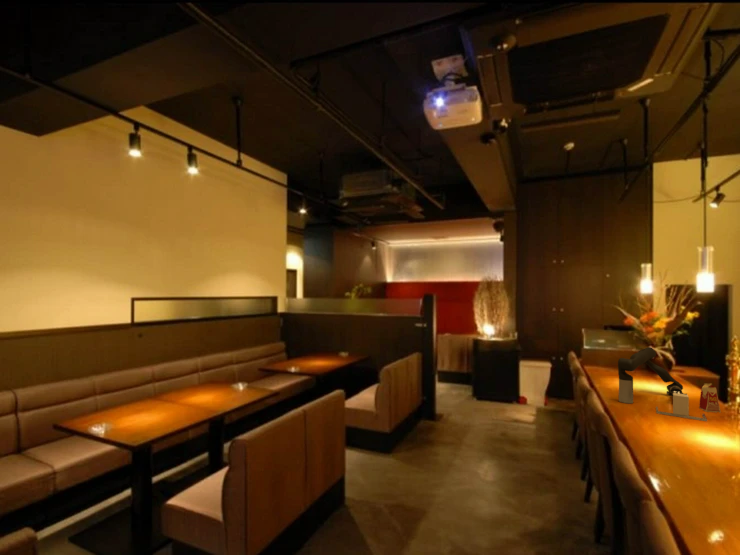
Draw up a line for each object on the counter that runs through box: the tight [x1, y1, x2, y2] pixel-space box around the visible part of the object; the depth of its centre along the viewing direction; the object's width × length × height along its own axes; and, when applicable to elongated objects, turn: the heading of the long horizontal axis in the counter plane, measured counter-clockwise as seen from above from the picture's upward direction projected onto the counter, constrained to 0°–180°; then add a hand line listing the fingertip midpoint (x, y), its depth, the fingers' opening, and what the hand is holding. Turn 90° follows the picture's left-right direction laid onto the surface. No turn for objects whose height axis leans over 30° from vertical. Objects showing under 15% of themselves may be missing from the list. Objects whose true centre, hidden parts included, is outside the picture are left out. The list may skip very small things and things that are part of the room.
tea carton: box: [672, 393, 690, 416], centre depth 269 cm, size 8×8×14 cm
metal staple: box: [655, 406, 708, 422], centre depth 270 cm, size 27×14×2 cm, turn 55°
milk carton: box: [698, 382, 722, 414], centre depth 281 cm, size 9×9×20 cm
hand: (677, 396), depth 288 cm, fingers closed
